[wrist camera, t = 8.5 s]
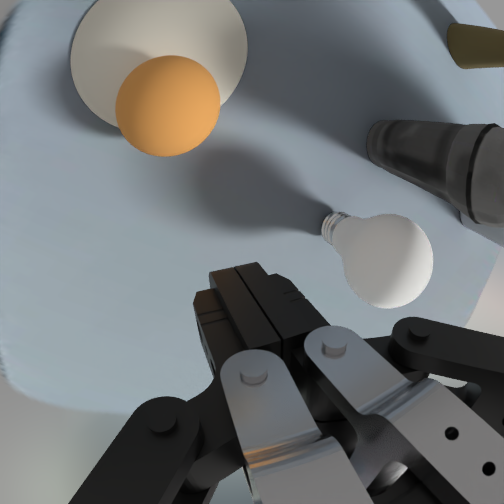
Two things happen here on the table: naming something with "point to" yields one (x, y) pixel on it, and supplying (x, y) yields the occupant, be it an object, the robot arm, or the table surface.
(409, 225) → the light bulb
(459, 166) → the beverage cup
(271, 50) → the table surface
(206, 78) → the ball
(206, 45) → the plate
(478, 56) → the cork
